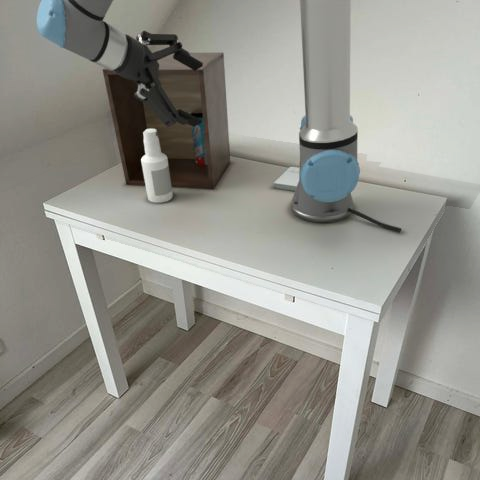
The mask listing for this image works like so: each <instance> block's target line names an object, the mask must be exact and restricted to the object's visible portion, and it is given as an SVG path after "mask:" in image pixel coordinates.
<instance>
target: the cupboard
mask: <svg viewBox="0 0 480 480" xmlns="http://www.w3.org/2000/svg"><path fill="white" fill-rule="evenodd" d="M189 53H190V56H192V57H194V58H195V59H197V60H199V61H200V62H202V63H203V66H202V67H201V68H199V69H197V70H196V71H194V70H193V69H191V68H189V67H187V66H186V65H184V64H182V63H180V62H179V61H177V60H175V59H173V55H174V53H173V54H171V55H169V56H166V57H164V58H162V59H159V60H157V61H158V63H159V70H158V72H159V78H158V79H159V81H160V82H161V87H162V88H163V90H164V92H165V93H166V95H167V96H168V98H169V99H170V101H171V102H172V104H173V105H174V107H175V109H176V110H179V109H180V110H183V111H185V112H187V113H189V114H191V113H203V123H204V134H205V145H206V155H207V165H200V164H197V163H196V161H195V152H194V143H193V134H192V126H191V125H189V124H185V125H182V124H180V123H178V122H176V123H175V124H173V125H172V126H170V127H166V126H165V124H164V123H163V122H162V121H161V120H160V119H159V118H158V117H157V116H156V115H155V114H154V113H153V112H152V111H151V110H150V109H149V108H148V107H147V105H146V104H145V103H144V102H142V101H141V100H139V99H137V98H136V97H135V93H136V92H137V91H138V84H137V83H136V82H135V81H133V80H129V79H126V78H124V77H122V76H120V75H118V74H116V73H114V72H113V71H110V70H108V69H106V68H104V67H103V68H102V69H101V70H102V75H103V78H104V83H105V88H106V92H107V98H108V104H109V108H110V113H111V118H112V123H113V128H114V132H115V133H114V134H115V138H116V142H117V147H118V151H119V156H120V157H119V158H120V161H121V165H122V166H121V167H122V171H123V176H124V181H125V185H126V186H142V187H143V186H144V187H146V185H145V179H144V174H143V168H142V163H141V158H142V157H143V156H144V155H146V154H145V146H144V141H143V140H144V135H143V132H144V131H145V130H146V129H156V130H157V136H158V138H159V144H160V148H161V153H163V154H165V155H166V156H167V158H168V165H169V172H170V179H171V186H172V188H179V189H183V188H184V189H199V190H215V188H216V187H217V185H218V183H219V182H220V181H221V178H222V177H223V176H224V174H225V172H226V171H227V169H228V168H229V166H230V165H231V151H230V150H231V149H230V148H231V147H230V135H229V118H228V104H227V103H228V102H227V101H228V100H227V86H226V70H225V56H224V55H225V54H224V52H189ZM150 85H151V86H154V85H155V83H152V84H150ZM145 88H146V87H145Z"/></svg>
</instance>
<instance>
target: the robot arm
mask: <svg viewBox="0 0 480 480" xmlns="http://www.w3.org/2000/svg"><path fill="white" fill-rule="evenodd" d="M351 1H352V0H299V7H300V8H299V9H300V29H301V50H302V51H301V53H302V70H303V71H302V73H303V90H304V91H303V92H304V93H303V94H304V109H305V110H304V113H305V115H303V117H302V118H301V119H300V120H301V121H300V127H299V132H298V140H299V141H298V142H299V143H298V144H299V168H300V174H299V182H298V185H297V187H296V190H295V191H294V193H293V196H292V199H291V201H290V210H291V212H292V214H293V215H294V216H295V217H296V218H298V219H300V220H303V221H306V222H310V223H318V224H328V223H334V222H335V223H336V222H340V221H342V220H344V219H346V218H348V217H349V216H350V215H351V214H353V215H356V216H358V217H360V218H361V219H362V218H363V219H364V220H366V221H369V222H370V223H372V224H374V225H376V226H379V227H382V228H385V229H387V230H391V231H395V232H399V233H400V232H402V228H401V227H399V226H394V225H390V224H386V223H385V222H384V223H383V222H382V221H380V220H379V221H378V220H376V219H374V218H372V217H370V216H368V215H366V214H364V213H362V212H360V211H358V210H355V209H354V208H353V207H354V201H353V196H352V192H353V191H354V190H355V189H356V187H357V185H358V183H359V179H360V175H361V174H360V173H361V168H360V165H359V162H358V137H359V136H358V133H359V132H358V131H359V130H358V129H359V128H358V126H357V124H355V123H354V117H353V116H352V115H351V12H352V11H351V9H352V8H351ZM113 2H114V0H41V1H40V3H39V6H38V10H37V12H36V13H37V14H36V28H37V30H38V32H39V34H40V36H42V37H43V38H44V39H46V40H48V41H50V42H52V43H53V44H55V45H57V46H58V47H59V48H61V49H65V50H67V51H69V52H71V53H73V54H76V55H77V56H80V57H82V58H83V59H86V60H88V61H90V62H92V63H94V64H96V65H97V66H100V67H102V68H103V69H104V68H106V69H108V70H110V71H113V72H114V73H116V74H118V75H120V76H122V77H124V78H126V79H129V80H133V81H135V82H136V83H137V84H138V91H137V92H136V93H135V97H136V98H137V99H139V100H141V101H142V102H144V103H145V104H146V105H147V107H148V108H149V109H150V110H151V111H152V112H153V113H154V114H155V115H156V116H157V117H158V118H159V119H160V120H161V121H162V122H163V123H164V124H165V126H166V127H170V126H172V125H173V124H175V123H176V122H178V123H180V124H182V125H185V124H189V125H191V126H193V127H195V126H197V125H199V124H201V123H202V120H201V119H199V118H197V117H195V116H193V115H191V114H189V113H187V112H185V111H183V110H180V109H179V110H176V109H175V107H174V105H173V104H172V102H171V101H170V99H169V98H168V96H167V95H166V93H165V92H164V90H163V88H162V87H161V82H160V81H159V79H158V78H159V72H158V70H159V63H158V61H157V60H159V59H162V58H164V57H166V56H169V55H171V54H173V53H174V55H173V59H175V60H177V61H179V62H180V63H182V64H184V65H186V66H187V67H189V68H191V69H193V70H194V71H196V70H197V69H199V68H201V67H202V66H203V63H202V62H200V61H199V60H197V59H195V58H194V57H192V56H190V53H191V52H189V51H187V50H186V49H184V48H183V44H182V42H180V41H178V40H179V36H178V35H177V34H175V33H151V32H148V31H146V30H143V31H141V32H140V33H139V34H137V35H136V37H132V36H130V35H129V34H125V32H124V31H122V30H121V29H119V28H117V27H115V26H113V25H112V24H110V23H108V22H106V21H104V20H105V17H106V15H107V13H108V11H109V9H110V7H111V6H112V4H113ZM148 46H168V47H165V48H162V49H160V50H157V51H154V52H152V50H150V48H149V47H148ZM152 83H155V85H154V86H151V85H150V84H152ZM145 87H146V88H145Z"/></svg>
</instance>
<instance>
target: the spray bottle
mask: <svg viewBox="0 0 480 480" xmlns="http://www.w3.org/2000/svg"><path fill="white" fill-rule="evenodd" d="M143 135H144V140H143V141H144V146H145V154H146V155H144V156H143V157H142V158H141V163H142V168H143V174H144V179H145V185H146V186H145V190H146V196H147V199H148V201H149V202H151V203H155V204H161V203H165V202H168V201H170V200H171V199H173V195H174V194H173V187H172V186H171V179H170V172H169V165H168V158H167V156H166V155H165V154H163V153H161V148H160V144H159V138H158V136H157V130H156V129H146V130H145V131H144V132H143Z"/></svg>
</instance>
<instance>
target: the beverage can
mask: <svg viewBox="0 0 480 480" xmlns="http://www.w3.org/2000/svg"><path fill="white" fill-rule="evenodd" d="M191 115H193V116H195V117H197V118H199V119H201V120H202V123H201V124H199V125H197V126H195V127H193V126H192V134H193V143H194V152H195V161H196V163H197V164H200V165H207V155H206V145H205V134H204V123H203V113H191Z"/></svg>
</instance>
